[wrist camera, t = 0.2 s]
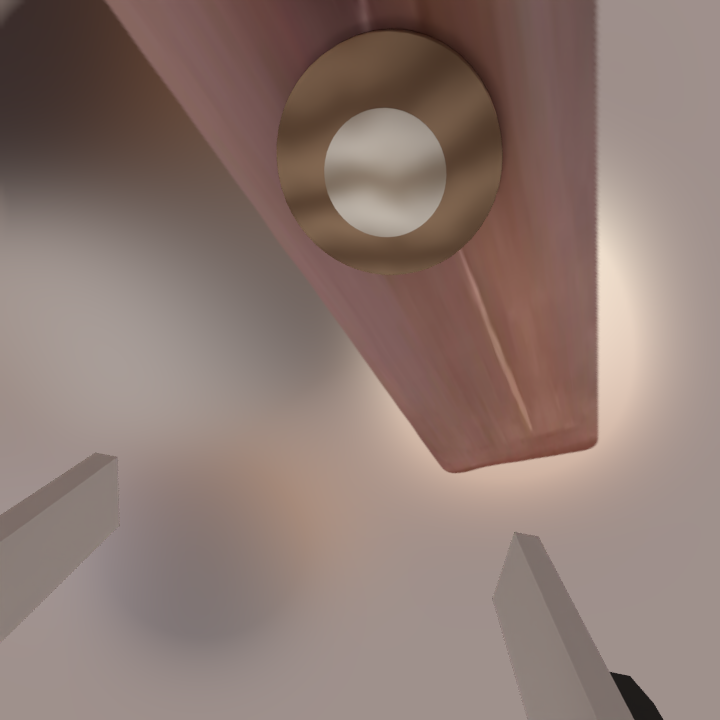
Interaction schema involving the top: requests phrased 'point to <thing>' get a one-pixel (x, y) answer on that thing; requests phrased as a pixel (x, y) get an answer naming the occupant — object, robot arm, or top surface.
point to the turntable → (390, 152)
